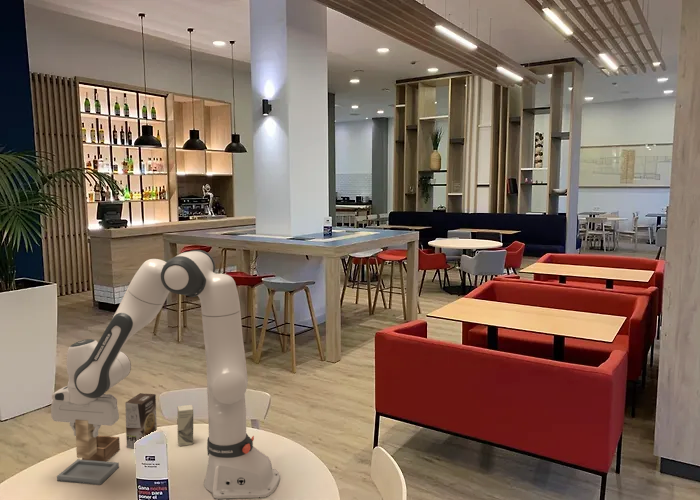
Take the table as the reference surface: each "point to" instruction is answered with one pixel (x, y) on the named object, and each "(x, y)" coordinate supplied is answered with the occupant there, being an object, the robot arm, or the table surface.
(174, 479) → the table surface
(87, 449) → the pin
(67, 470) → the tray
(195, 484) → the table surface
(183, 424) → the box
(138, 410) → the coffee box
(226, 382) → the robot arm
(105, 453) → the holder
